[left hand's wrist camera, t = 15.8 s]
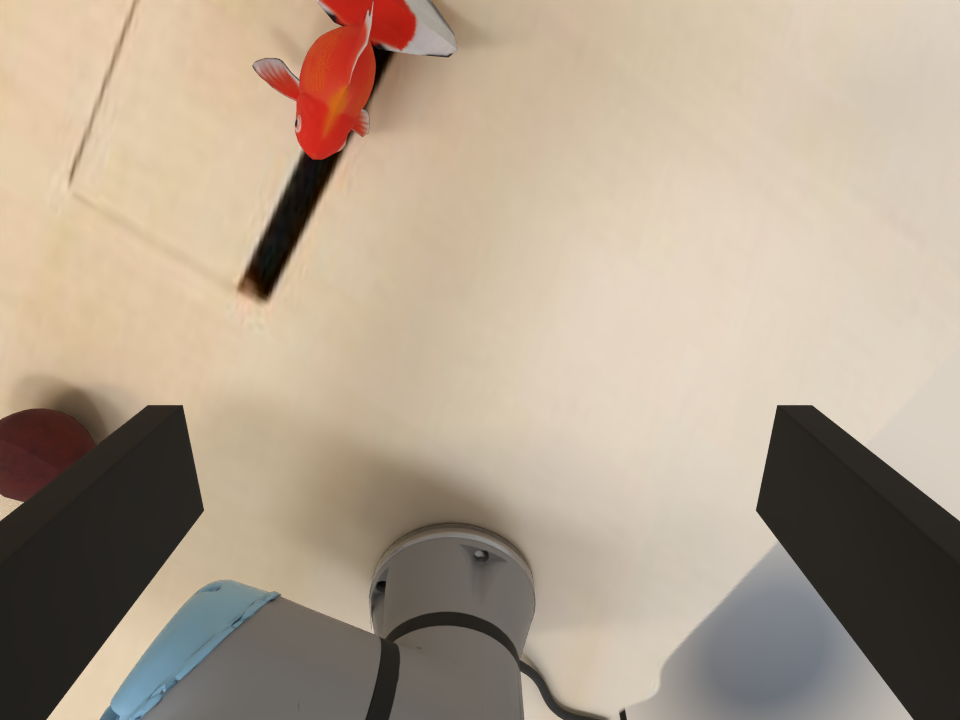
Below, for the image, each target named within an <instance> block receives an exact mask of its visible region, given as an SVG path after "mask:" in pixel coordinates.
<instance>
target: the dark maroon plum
mask: <svg viewBox="0 0 960 720" xmlns="http://www.w3.org/2000/svg"><path fill="white" fill-rule="evenodd" d="M95 446H96V445H95V443H94V441H93V439H92V438H91V436H90V434H89V432H88V431H87V429H86V428H84V427H83V426H82V425H81V424H80V423H79V422H78V421H77V420H76V419H75V418H73V417H71V416H69V415H66V414H64V413H62V412H59V411H54V410H50V409H29V410H24V411H20V412H17V413H14V414H11V415H9V416H7V417H5V418H2V419H1V420H0V494H1V495H3V496H4V497H7V498H11V499H14V500H18V501H22V502H25V501H27V500H28V499H29V498H31V497H32V496H33V495H34V494H36V493H37V492H38V491H39V490H41V489H42V488H43V487H45V486H46V485H47V484H48V483H50V482H51V481H52V480H53V479H55V478H56V477H57V476H59V475H60V474H61V473H62V472H64V471H65V470H66V469H67V468H69V467H70V466H71V465H73V464H74V463H75V462H76V461H78V460H79V459H80V458H81V457H83V456H84V455H85V454H87V453H88V452H89V451H90V450H92V449H93V448H94V447H95Z"/></svg>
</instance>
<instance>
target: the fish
mask: <svg viewBox="0 0 960 720" xmlns="http://www.w3.org/2000/svg"><path fill="white" fill-rule="evenodd" d="M316 1H317V2H318V4H319V5H320V6H321V7H322V8H323V10H324V11H325V12H326V13H327V14H328V16H329V17H330V18H331V19H332V20H333V21H334V22H335V23H337V24H339V25H341V26H342V27H339V28H337V29H334V30H332V31H329V32H327V33H325V34H324V35H322V36H321V37H319V38H318V39H317V40H316V42H315V43H314V44H313V45H312V46H311V48H310V49H309V51H308V53H307V55H306V57H305V60H304V63H303V66H302V69H301V73H300V80H299V79H298V78H297V77H296V76H295V75H293V74H292V73H291V71H290V70H289V69H288V67H287V66H286V65H285V64H284V62H283V61H282V60H280V59H277V58H264V59H261V60H258V61H256V62H255V63H254V64H253V68H254V70H255V71H256V72H257V74H258V75H259V76H260V77H261V78H262V79H264V80H265V81H266V82H267V83H268V84H269V85H270V86H271V87H272V88H274V89H275V90H277V91H278V92H280V93H282V94H283V95H285V96H287V97H289V98H291V99H293V100H295V101H297V112H296V122H295V132H296V136H297V139H298V142H299V144H300V146H301V147H302V149H303V150H304V151H305V152H306V153H307V154H308V156H310V157H311V158H312V159H324V158H327V157H328V156H330V155H332V154H334V153H336V152H338V151H340V150H342V149H343V147H344V146H345V144H346V139H347V135H348V133H349V132H350V131H351V129H352V130H353V131H354V132H356V133H357V134H359V135H360V136H362V137H363V136H365V135H366V134H368V133H369V126H370V121H369V114H368V111H367V110H366V109H363V107H364V106H365V104H366V103H367V101H368V98H369V96H370V93H371V91H372V88H373V84H374V78H375V70H376V63H375V56H374V52H373V48H372V45H373V46H374V47H375V48H377V49H383V50H389V51H395V52H402V53H407V54H413V55H428V56H439V57H449V56H451V55H452V54H453V53H454V52H456V51H457V50H458V48H457V44H456V40H455V36H454V33H453V31H452V30H451V28H450V27H449V26H448V24H447V23H446V21H445V20H444V18H443V17H442V15H441V14H440V13H439V11H438V10H437V8H436V7H435V5H434V4H433V2H432V1H431V0H316Z"/></svg>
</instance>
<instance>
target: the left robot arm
mask: <svg viewBox="0 0 960 720" xmlns="http://www.w3.org/2000/svg"><path fill="white" fill-rule="evenodd" d="M203 511H204V508H203V503H202V498H201V493H200V488H199V483H198V478H197V473H196V469H195V464H194V459H193V454H192V449H191V444H190V439H189V434H188V429H187V424H186V419H185V414H184V410H183V405H148V406H146V407H145V408H144V409H143V410H141V411H140V412H139V413H138V414H136V415H135V416H134V417H132V418H131V419H130V420H129V421H127V422H126V423H125V424H124V425H122V426H121V427H120V428H118V429H117V430H116V431H115V432H113V433H112V434H111V435H109V436H108V437H107V438H106V439H104V440H103V441H102V442H101V443H99V444H98V445H97V446H95V447H94V448H93V449H92V450H90V451H89V452H88V453H87V454H85V455H84V456H83V457H81V458H80V459H79V460H78V461H76V462H75V463H74V464H73V465H71V466H70V467H69V468H67V469H66V470H65V471H64V472H62V473H61V474H60V475H59V476H57V477H56V478H55V479H53V480H52V481H51V482H50V483H48V484H47V485H46V486H45V487H43V488H42V489H41V490H39V491H38V492H37V493H36V494H34V495H33V496H32V497H31V498H29V499H28V500H27V501H25V502H24V503H23V504H22V505H20V506H19V507H18V508H16V509H15V510H14V511H13V512H11V513H10V514H9V515H8V516H6V517H5V518H4V519H2V520H1V521H0V720H46V719H47V718H48V717H49V715H50V714H51V713H52V711H53V710H54V709H55V707H56V706H57V705H58V703H59V702H60V701H61V699H62V698H63V697H64V695H65V694H66V693H67V692H68V690H69V689H70V688H71V686H72V685H73V684H74V682H75V681H76V680H77V678H78V677H79V676H80V674H81V673H82V672H83V670H84V669H85V668H86V666H87V665H88V664H89V662H90V661H91V660H92V658H93V657H94V656H95V654H96V653H97V652H98V650H99V649H100V648H101V646H102V645H103V644H104V642H105V641H106V640H107V638H108V637H109V636H110V635H111V633H112V632H113V631H114V629H115V628H116V627H117V625H118V624H119V623H120V621H121V620H122V619H123V617H124V616H125V615H126V613H127V612H128V611H129V609H130V608H131V607H132V605H133V604H134V603H135V601H136V600H137V599H138V597H139V596H140V595H141V593H142V592H143V591H144V589H145V588H146V587H147V585H148V584H149V583H150V581H151V580H152V579H153V577H154V576H155V575H156V574H157V572H158V571H159V570H160V568H161V567H162V566H163V564H164V563H165V562H166V560H167V559H168V558H169V556H170V555H171V554H172V552H173V551H174V550H175V548H176V547H177V546H178V544H179V543H180V542H181V540H182V539H183V538H184V536H185V535H186V534H187V532H188V531H189V530H190V528H191V527H192V526H193V524H194V523H195V522H196V520H197V519H198V518H199V517H200V515H201V514H202V513H203ZM756 511H757V513H758V514H759V515H760V517H761V518H762V519H763V520H764V522H765V523H766V524H767V526H768V527H769V528H770V530H771V531H772V532H773V534H774V535H775V536H776V538H777V539H778V540H779V542H780V543H781V544H782V546H783V547H784V548H785V550H786V551H787V552H788V554H789V555H790V556H791V558H792V559H793V560H794V561H795V563H796V564H797V565H798V567H799V568H800V570H801V571H802V572H803V574H804V575H805V576H806V577H807V579H808V580H809V581H810V583H811V584H812V585H813V587H814V588H815V589H816V591H817V592H818V593H819V595H820V596H821V597H822V599H823V600H824V601H825V603H826V604H827V605H828V607H829V608H830V609H831V611H832V612H833V613H834V615H835V616H836V617H837V619H838V620H839V621H840V623H841V624H842V625H843V626H844V628H845V629H846V630H847V632H848V633H849V634H850V636H851V637H852V638H853V640H854V641H855V642H856V644H857V645H858V646H859V648H860V649H861V650H862V652H863V653H864V654H865V656H866V657H867V658H868V660H869V661H870V662H871V664H872V665H873V666H874V668H875V669H876V670H877V672H878V673H879V674H880V676H881V677H882V678H883V680H884V681H885V682H886V684H887V685H888V686H889V688H890V689H891V690H892V691H893V693H894V694H895V695H896V697H897V698H898V699H899V701H900V702H901V703H902V705H903V706H904V707H905V709H906V710H907V711H908V713H909V714H910V715H911V717H912V718H913V719H914V720H960V521H959V520H958V519H956V518H955V517H954V516H952V515H951V514H950V513H949V512H947V511H946V510H945V509H944V508H942V507H941V506H940V505H938V504H937V503H936V502H935V501H933V500H932V499H931V498H929V497H928V496H927V495H926V494H924V493H923V492H922V491H921V490H919V489H918V488H917V487H915V486H914V485H913V484H912V483H910V482H909V481H908V480H906V479H905V478H904V477H903V476H901V475H900V474H899V473H898V472H896V471H895V470H894V469H893V468H891V467H890V466H889V465H887V464H886V463H885V462H884V461H882V460H881V459H880V458H879V457H877V456H876V455H875V454H873V453H872V452H871V451H870V450H868V449H867V448H866V447H865V446H863V445H862V444H861V443H859V442H858V441H857V440H856V439H854V438H853V437H852V436H851V435H849V434H848V433H847V432H845V431H844V430H843V429H842V428H840V427H839V426H838V425H836V424H835V423H834V422H833V421H831V420H830V419H829V418H828V417H826V416H825V415H824V414H822V413H821V412H820V411H819V410H817V409H816V408H815V407H814V406H812V405H777V410H776V414H775V419H774V424H773V429H772V434H771V439H770V444H769V449H768V454H767V459H766V464H765V469H764V473H763V478H762V483H761V488H760V493H759V498H758V503H757V508H756ZM369 605H370V624H371V629H372V622H373V628H374V633H375V634H372V633H370V632H367V631H364V630H362V629H359V628H357V627H354V626H352V625H349V624H347V623H344V622H342V621H339V620H337V619H334V618H332V617H329V616H327V615H324V614H321V613H319V612H316V611H314V610H311V609H309V608H306V607H304V606H302V605H299V604H297V603H294V602H292V601H290V600H287V599H285V598H283V597H281V594H279V593H277V592H271V593H269V592H266V591H263V590H260V589H257V588H254V587H251V586H247V585H244V584H241V583H238V582H236V581H232V580H219V581H215V582H212V583H210V584H208V585H206V586H204V587H203V588H201V589H200V590H199V591H197V592H196V593H195V594H194V595H193V596H192V597H191V598H190V599H189V600H188V601H187V602H186V603H185V604H184V605H183V606H182V607H181V608H180V610H179V611H178V612H177V613H176V614H175V615H174V616H173V618H172V619H171V620H170V621H169V622H168V624H167V625H166V626H165V627H164V629H163V630H162V631H161V632H160V634H159V635H158V636H157V637H156V639H155V640H154V641H153V642H152V644H151V645H150V646H149V648H148V649H147V650H146V652H145V653H144V654H143V656H142V657H141V658H140V660H139V661H138V663H137V664H136V665H135V667H134V668H133V669H132V671H131V672H130V674H129V675H128V676H127V678H126V679H125V681H124V682H123V683H122V685H121V686H120V688H119V689H118V691H117V692H116V694H115V695H114V697H113V698H112V700H111V705H110V706H109V707H108V708H107V709H106V711H105V712H104V714H103V715H102V717H101V719H100V720H524V710H523V698H522V685H521V675H520V671H521V672H523V673H524V674H526V675H527V676H529V677H530V678H531V679H532V680H533V681H534V682H535V684H536V685H537V687H538V688H539V690H540V692H541V695H542V697H543V699H544V701H545V703H546V704H547V706H548V707H549V708H550V710H551V711H552V712H553V713H555V714H556V715H557V716H558V717H560V718H561V719H563V720H598V719H594V718H590V717H584V716H579V715H575V714H572V713H569V712H567V711H565V710H563V709H562V708H560V707H559V706H558V705H557V704H556V703H555V701H554V700H553V698H552V696H551V694H550V692H549V690H548V688H547V686H546V684H545V682H544V681H543V679H542V678H541V676H540V675H539V674H538V673H537V672H536V671H535V670H534V669H532V668H531V667H530V666H528V665H527V664H525V663H524V662H522V661H521V660H520V657H521V654H522V651H523V648H524V644H525V641H526V638H527V635H528V631H529V628H530V625H531V622H532V619H533V616H534V611H535V593H534V585H533V578H532V574H531V571H530V568H529V566H528V564H527V562H526V560H525V559H524V557H523V556H522V555H521V553H520V552H519V551H518V550H517V549H516V548H515V547H514V546H513V545H512V544H511V543H509V542H508V541H507V540H505V539H504V538H502V537H501V536H499V535H497V534H495V533H493V532H491V531H488V530H486V529H483V528H480V527H476V526H472V525H465V524H454V523H453V524H437V525H432V526H427V527H424V528H420V529H418V530H415V531H413V532H411V533H409V534H407V535H405V536H403V537H402V538H400V539H399V540H397V541H396V542H395V543H393V544H392V545H391V546H390V547H389V548H388V549H387V550H386V552H385V553H384V554H383V556H382V557H381V559H380V560H379V562H378V564H377V567H376V569H375V572H374V576H373V580H372V584H371V588H370V594H369ZM371 616H372V621H371ZM619 715H620V720H627V717H626V711H625V708H624V709H623V710H621V711H620V712H619Z"/></svg>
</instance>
